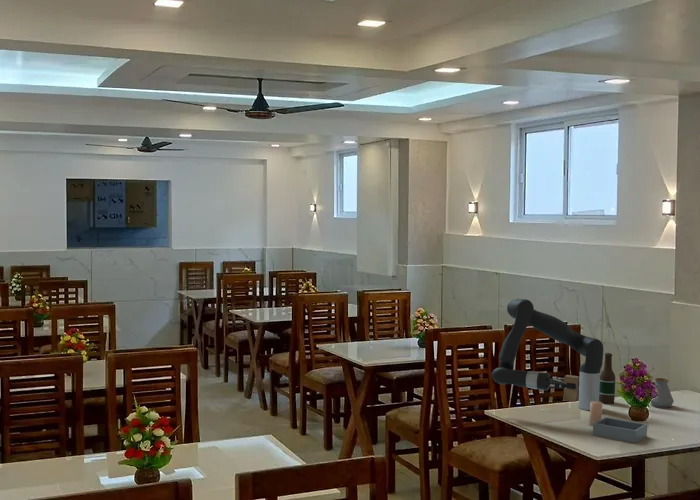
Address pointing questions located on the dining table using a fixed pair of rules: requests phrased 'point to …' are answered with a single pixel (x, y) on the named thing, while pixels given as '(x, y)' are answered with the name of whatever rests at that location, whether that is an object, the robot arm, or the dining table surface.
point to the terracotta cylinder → (595, 411)
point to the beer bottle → (607, 382)
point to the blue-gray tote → (620, 430)
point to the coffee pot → (662, 394)
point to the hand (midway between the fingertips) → (577, 385)
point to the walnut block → (571, 393)
